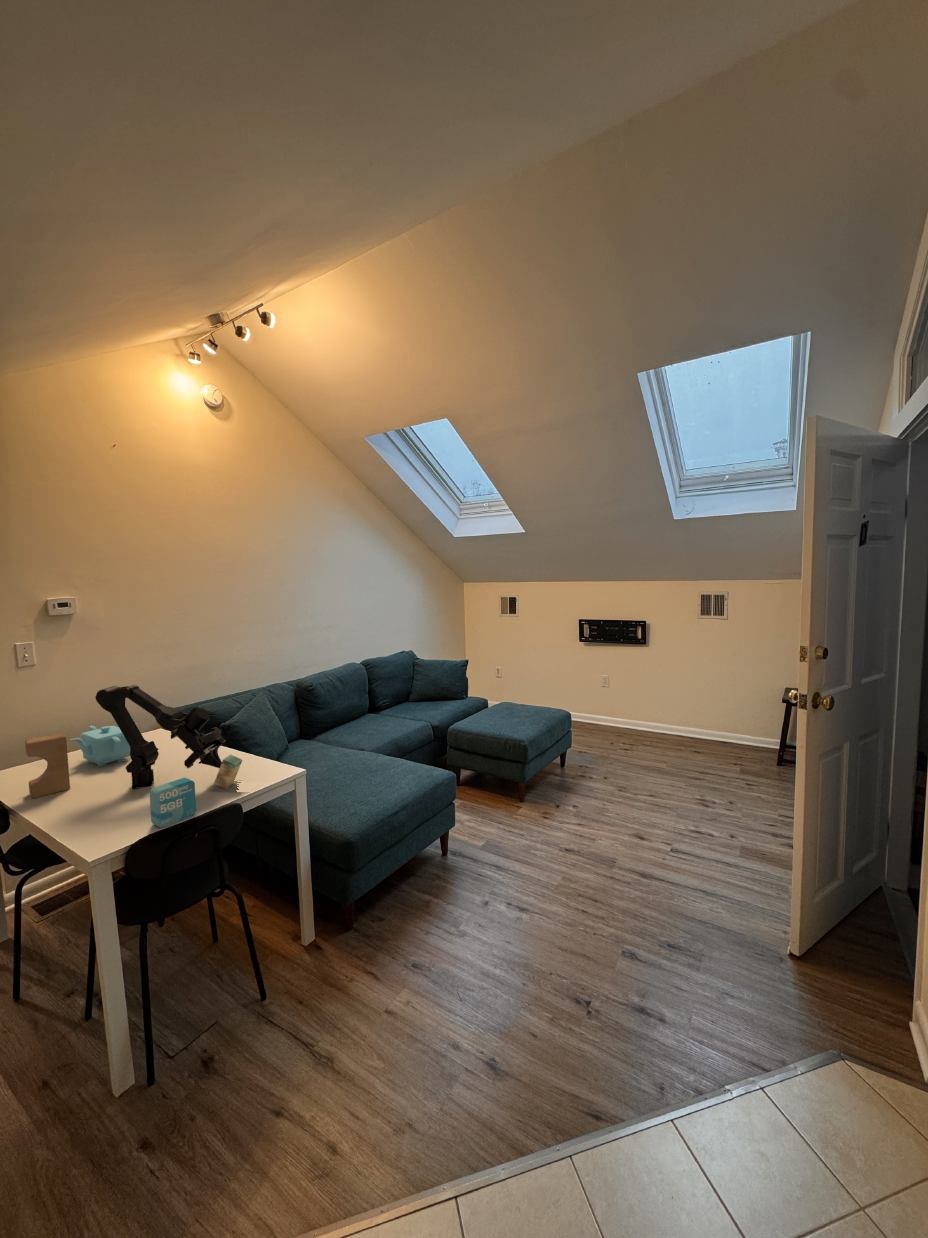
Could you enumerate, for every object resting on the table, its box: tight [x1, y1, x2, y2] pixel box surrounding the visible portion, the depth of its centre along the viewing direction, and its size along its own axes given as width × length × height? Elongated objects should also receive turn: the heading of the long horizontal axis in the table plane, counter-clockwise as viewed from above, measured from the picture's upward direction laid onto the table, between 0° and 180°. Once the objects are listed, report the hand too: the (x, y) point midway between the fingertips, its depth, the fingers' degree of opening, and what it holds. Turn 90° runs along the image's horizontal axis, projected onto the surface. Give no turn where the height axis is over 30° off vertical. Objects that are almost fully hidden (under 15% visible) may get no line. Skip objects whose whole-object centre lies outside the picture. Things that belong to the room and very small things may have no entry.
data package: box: [149, 777, 197, 829], centre depth 164 cm, size 12×4×12 cm, turn 146°
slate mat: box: [203, 780, 241, 794], centre depth 188 cm, size 17×10×1 cm, turn 86°
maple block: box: [213, 754, 243, 789], centre depth 188 cm, size 5×5×10 cm
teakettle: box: [69, 723, 138, 768], centre depth 213 cm, size 19×19×15 cm
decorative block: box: [24, 732, 71, 799], centre depth 184 cm, size 11×6×20 cm, turn 134°
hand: (222, 767), depth 188 cm, fingers closed
